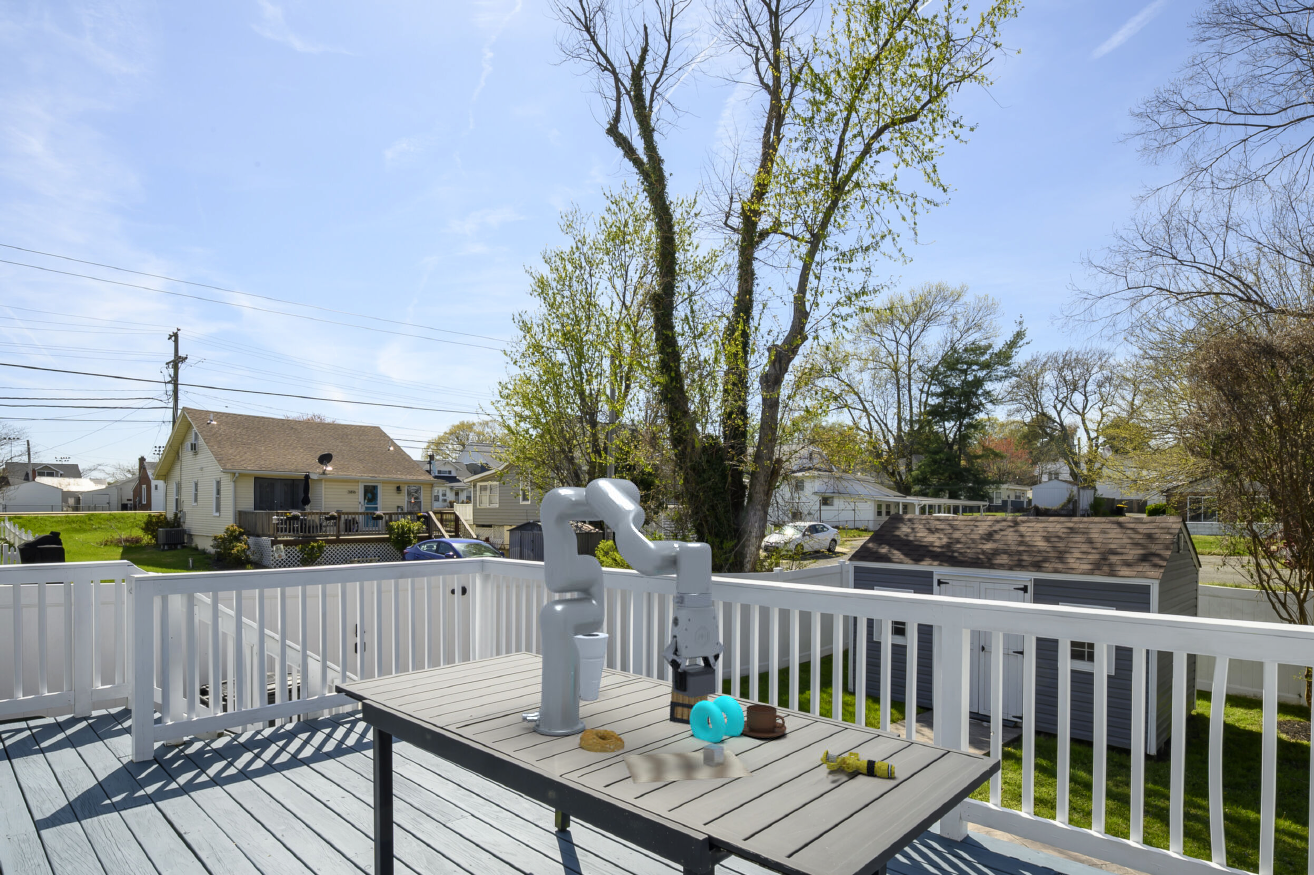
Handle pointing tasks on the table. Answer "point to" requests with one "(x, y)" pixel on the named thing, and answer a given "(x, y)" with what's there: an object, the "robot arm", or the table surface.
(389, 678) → the table surface
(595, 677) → the cup
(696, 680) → the dark grey box
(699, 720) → the donuts
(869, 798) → the table surface
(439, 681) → the table surface
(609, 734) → the bagel
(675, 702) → the ammunition clip
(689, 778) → the beige wavy cloth
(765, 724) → the cup and saucer
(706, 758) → the silver metal cube
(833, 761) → the sprinkler
